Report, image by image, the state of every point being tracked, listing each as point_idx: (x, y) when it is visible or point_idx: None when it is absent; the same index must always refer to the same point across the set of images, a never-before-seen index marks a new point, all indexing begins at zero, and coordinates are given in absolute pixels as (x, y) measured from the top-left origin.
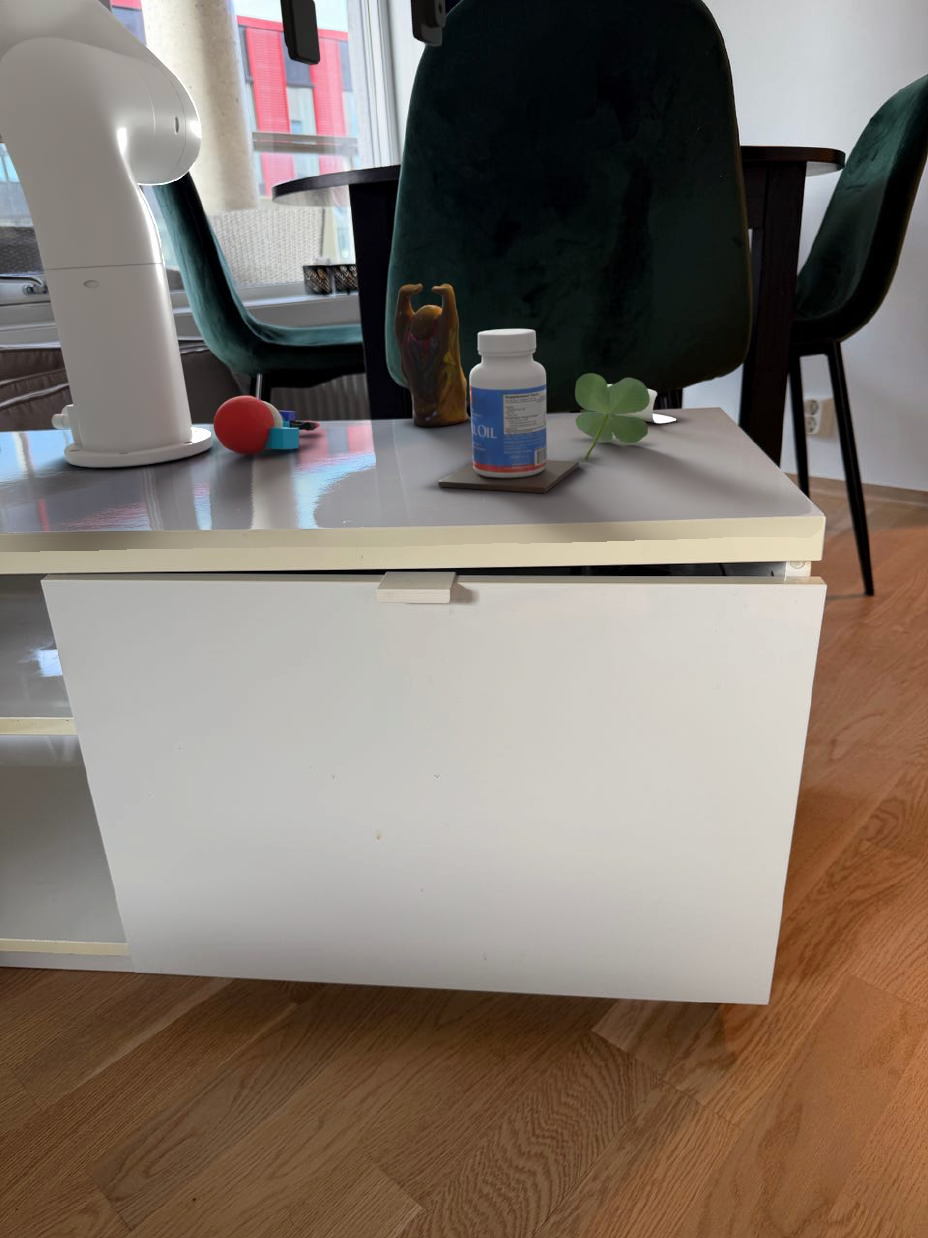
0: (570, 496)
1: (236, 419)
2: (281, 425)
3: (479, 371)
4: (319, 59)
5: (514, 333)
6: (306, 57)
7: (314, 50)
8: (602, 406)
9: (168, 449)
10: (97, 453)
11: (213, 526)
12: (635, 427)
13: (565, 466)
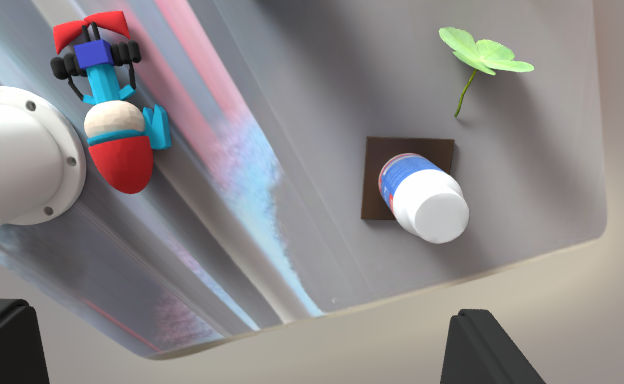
0: None
1: (139, 188)
2: (143, 118)
3: (411, 231)
4: (29, 310)
5: (453, 233)
6: (46, 374)
7: (20, 350)
8: (479, 61)
9: (77, 189)
10: (23, 216)
11: (257, 324)
12: (501, 53)
13: (446, 159)
